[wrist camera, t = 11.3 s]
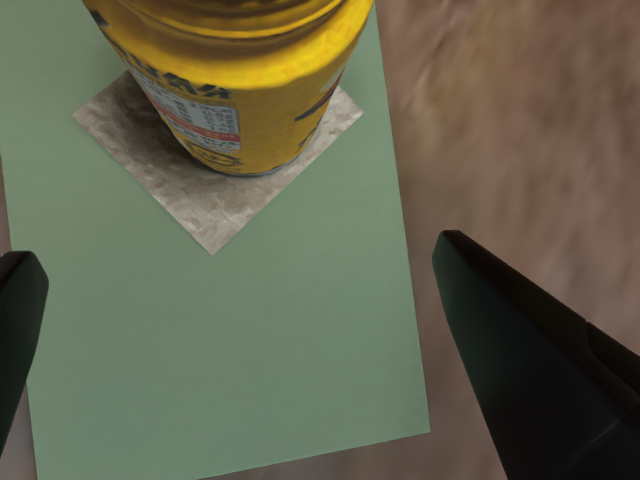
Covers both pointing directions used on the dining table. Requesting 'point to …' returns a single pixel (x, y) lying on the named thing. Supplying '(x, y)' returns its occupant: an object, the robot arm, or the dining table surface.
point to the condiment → (223, 100)
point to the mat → (201, 285)
